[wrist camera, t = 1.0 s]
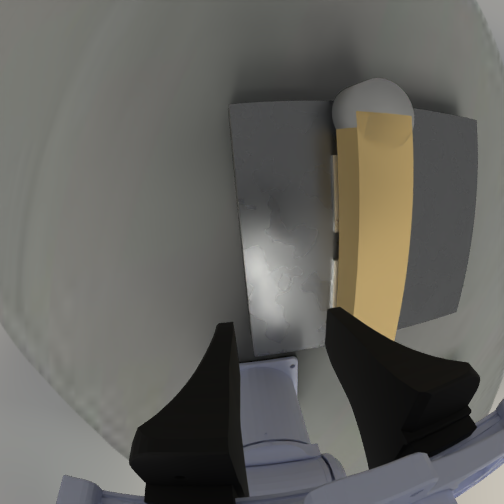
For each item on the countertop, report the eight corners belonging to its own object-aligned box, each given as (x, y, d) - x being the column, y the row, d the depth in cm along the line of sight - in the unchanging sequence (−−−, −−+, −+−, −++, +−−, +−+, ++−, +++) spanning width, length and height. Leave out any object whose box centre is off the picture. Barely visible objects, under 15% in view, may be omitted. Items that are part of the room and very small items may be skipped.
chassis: (440, 298, 26) (459, 314, 23) (251, 334, 25) (255, 360, 22) (453, 114, 19) (479, 114, 16) (227, 103, 18) (228, 94, 15)
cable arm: (329, 84, 15) (348, 74, 12) (385, 89, 15) (410, 82, 12) (331, 339, 21) (344, 364, 19) (377, 330, 22) (393, 352, 19)
